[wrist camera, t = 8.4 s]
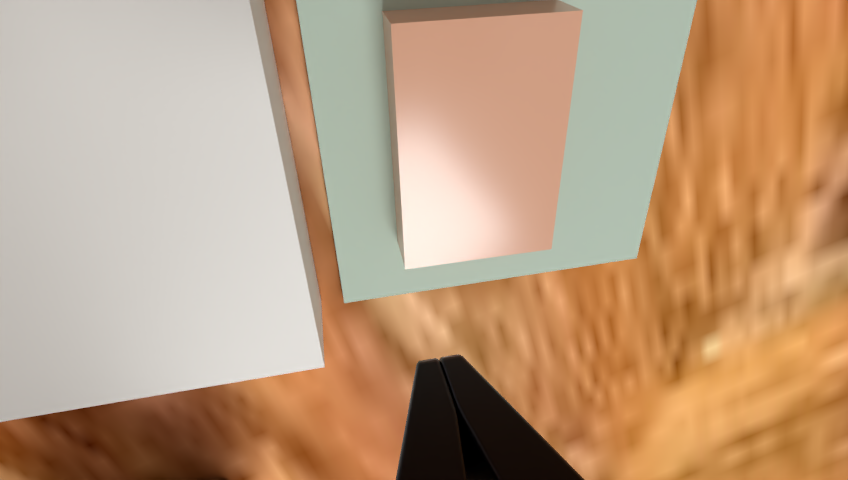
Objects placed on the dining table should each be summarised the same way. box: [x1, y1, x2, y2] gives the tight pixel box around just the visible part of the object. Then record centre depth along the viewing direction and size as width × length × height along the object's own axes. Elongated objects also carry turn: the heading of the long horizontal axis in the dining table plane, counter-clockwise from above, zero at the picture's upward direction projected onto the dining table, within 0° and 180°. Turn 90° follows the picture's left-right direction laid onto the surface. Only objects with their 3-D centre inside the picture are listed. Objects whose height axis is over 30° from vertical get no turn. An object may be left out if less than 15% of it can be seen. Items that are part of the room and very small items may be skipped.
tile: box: [382, 0, 583, 269], centre depth 19 cm, size 9×6×2 cm, turn 2°
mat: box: [296, 0, 697, 303], centre depth 20 cm, size 15×14×1 cm
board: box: [0, 0, 325, 422], centre depth 17 cm, size 15×12×4 cm
